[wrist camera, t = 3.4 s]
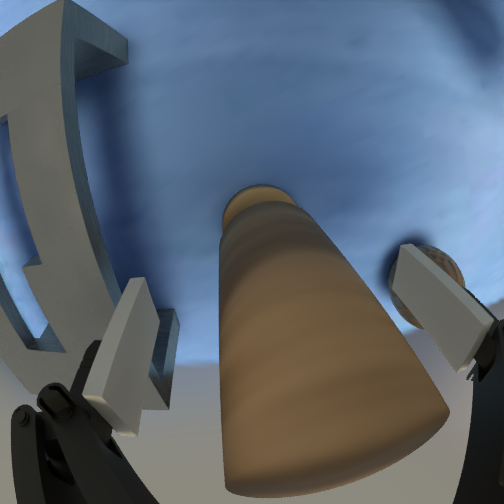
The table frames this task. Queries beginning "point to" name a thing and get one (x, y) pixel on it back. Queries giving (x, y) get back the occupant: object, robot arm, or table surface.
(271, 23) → the table surface
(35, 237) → the keyhole plate
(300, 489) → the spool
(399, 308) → the vase
